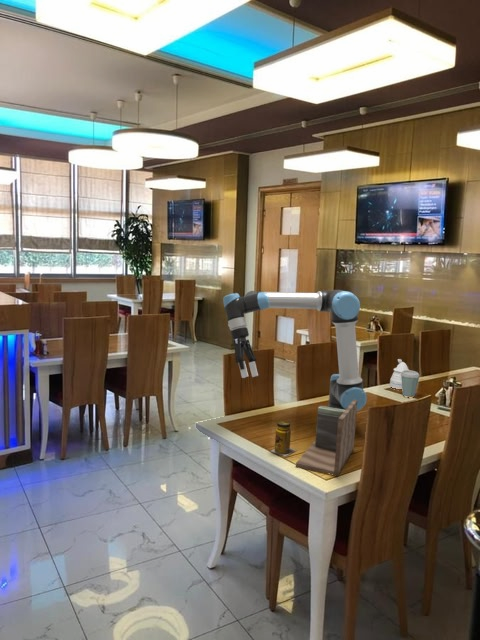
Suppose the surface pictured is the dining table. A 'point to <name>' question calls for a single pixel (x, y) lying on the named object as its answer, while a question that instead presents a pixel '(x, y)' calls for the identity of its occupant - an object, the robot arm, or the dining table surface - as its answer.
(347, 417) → the wooden l-shaped bookend
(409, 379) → the disposable coffee cup
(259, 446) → the dining table surface
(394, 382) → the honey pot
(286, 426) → the condiment
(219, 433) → the dining table surface
